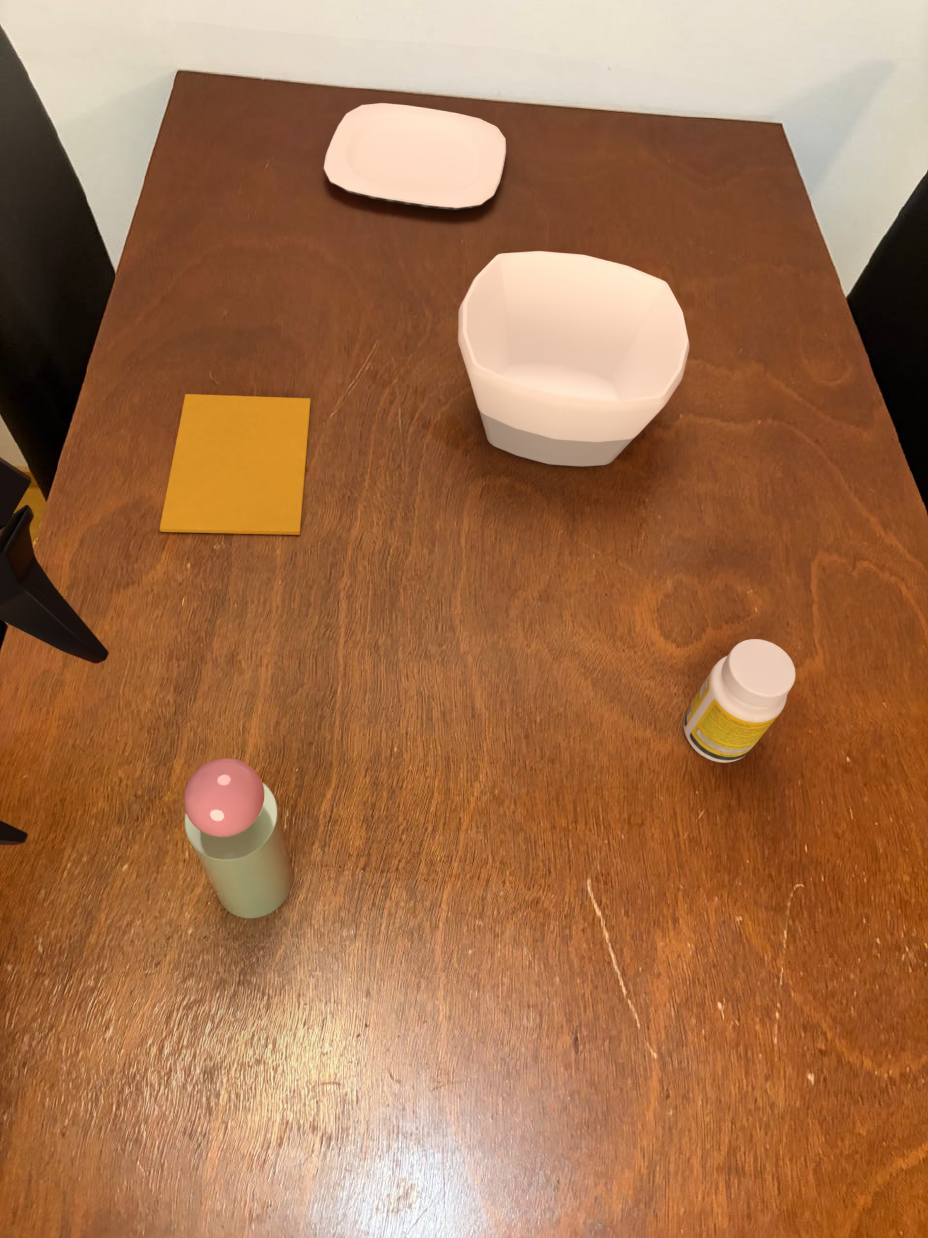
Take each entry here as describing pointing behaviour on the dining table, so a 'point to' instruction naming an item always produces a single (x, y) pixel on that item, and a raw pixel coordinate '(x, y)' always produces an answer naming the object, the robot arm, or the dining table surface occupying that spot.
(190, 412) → the cloth
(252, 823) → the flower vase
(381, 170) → the plate
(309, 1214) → the dining table surface
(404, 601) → the dining table surface
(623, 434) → the bowl
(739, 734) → the supplement bottle
